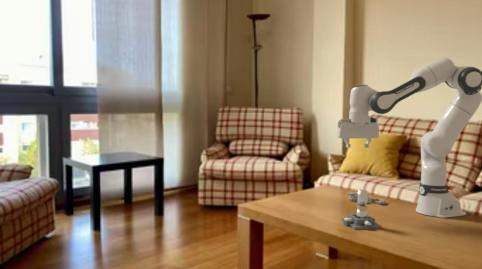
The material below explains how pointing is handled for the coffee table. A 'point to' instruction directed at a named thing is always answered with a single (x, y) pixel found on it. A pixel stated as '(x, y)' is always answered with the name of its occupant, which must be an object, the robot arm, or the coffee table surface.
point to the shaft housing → (361, 222)
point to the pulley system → (354, 197)
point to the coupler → (362, 204)
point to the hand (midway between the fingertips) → (357, 147)
